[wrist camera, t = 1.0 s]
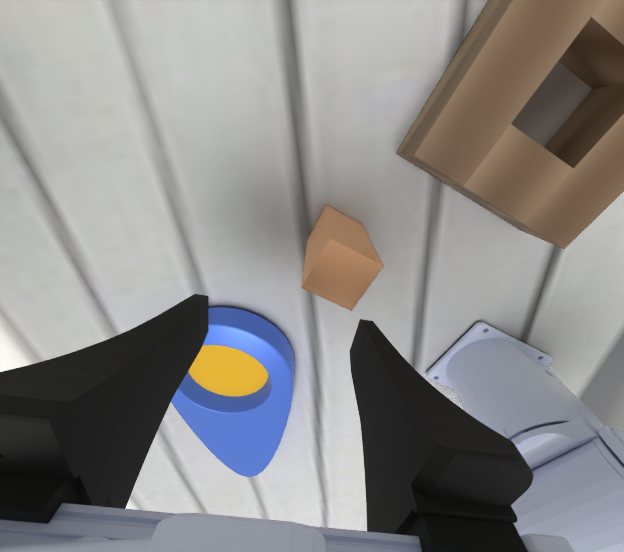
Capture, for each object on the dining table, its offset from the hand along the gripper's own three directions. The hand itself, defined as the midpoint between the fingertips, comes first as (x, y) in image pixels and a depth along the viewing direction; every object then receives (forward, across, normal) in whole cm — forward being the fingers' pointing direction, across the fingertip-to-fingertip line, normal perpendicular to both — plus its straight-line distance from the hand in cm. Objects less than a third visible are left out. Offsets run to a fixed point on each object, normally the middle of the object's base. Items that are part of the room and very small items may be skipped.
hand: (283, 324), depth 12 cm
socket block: (+10, -13, -12) cm, 21 cm away
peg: (+10, -3, -2) cm, 11 cm away
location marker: (+11, +4, +19) cm, 23 cm away
